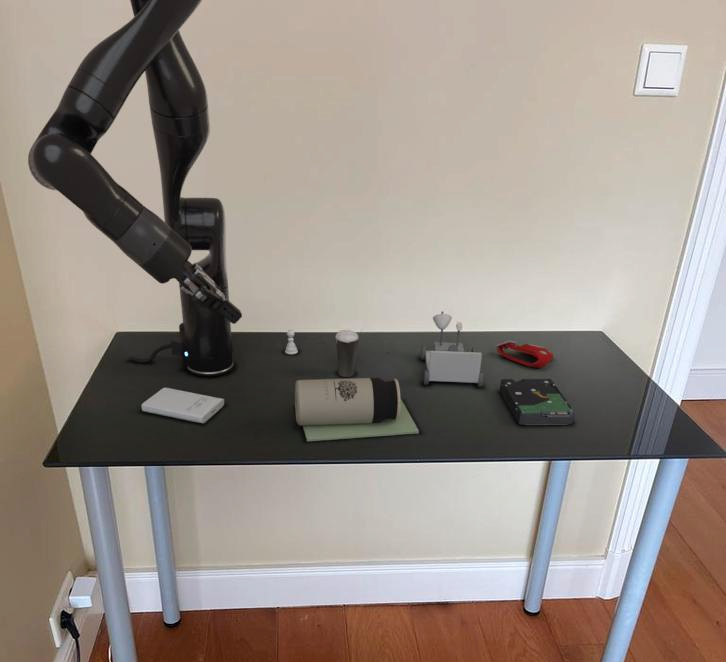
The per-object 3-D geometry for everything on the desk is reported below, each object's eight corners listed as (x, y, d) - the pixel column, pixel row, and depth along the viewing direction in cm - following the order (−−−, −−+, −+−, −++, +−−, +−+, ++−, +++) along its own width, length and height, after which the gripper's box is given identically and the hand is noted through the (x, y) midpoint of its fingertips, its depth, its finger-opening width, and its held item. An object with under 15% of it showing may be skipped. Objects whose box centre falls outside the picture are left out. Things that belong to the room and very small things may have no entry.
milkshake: (358, 380, 153) (360, 333, 148) (332, 377, 154) (333, 330, 148) (363, 371, 157) (364, 324, 151) (337, 368, 158) (338, 322, 152)
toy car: (423, 308, 161) (478, 310, 161) (420, 351, 166) (473, 354, 166) (428, 340, 146) (488, 343, 146) (424, 387, 151) (482, 389, 151)
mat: (307, 441, 131) (307, 439, 131) (296, 407, 142) (296, 405, 142) (418, 433, 135) (419, 431, 135) (400, 401, 146) (400, 398, 145)
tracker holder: (544, 345, 169) (565, 352, 160) (538, 365, 170) (559, 373, 161) (494, 335, 165) (513, 341, 156) (489, 355, 167) (507, 362, 157)
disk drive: (498, 391, 151) (519, 426, 138) (499, 378, 149) (521, 412, 137) (548, 390, 152) (574, 425, 140) (550, 377, 151) (576, 411, 138)
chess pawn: (289, 355, 162) (288, 333, 159) (282, 351, 164) (281, 329, 161) (300, 353, 164) (300, 330, 161) (293, 348, 166) (293, 326, 163)
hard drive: (166, 394, 145) (224, 405, 142) (142, 412, 138) (202, 424, 135) (165, 386, 144) (224, 397, 141) (140, 404, 137) (202, 416, 134)
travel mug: (294, 405, 139) (391, 401, 142) (297, 435, 134) (398, 431, 136) (294, 370, 133) (395, 368, 136) (297, 400, 128) (402, 397, 130)
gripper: (171, 238, 109) (259, 316, 118) (167, 215, 119) (248, 288, 129) (137, 276, 110) (226, 350, 120) (136, 250, 121) (218, 320, 130)
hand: (237, 318), depth 124 cm, fingers closed
